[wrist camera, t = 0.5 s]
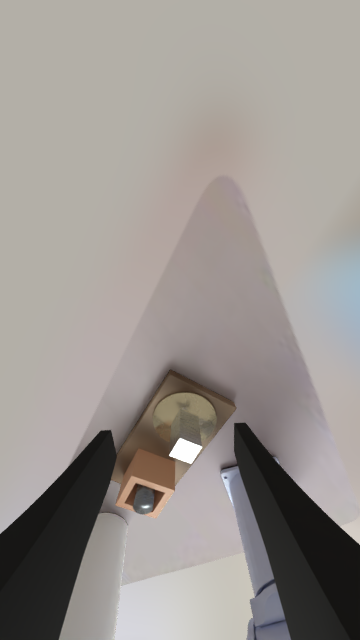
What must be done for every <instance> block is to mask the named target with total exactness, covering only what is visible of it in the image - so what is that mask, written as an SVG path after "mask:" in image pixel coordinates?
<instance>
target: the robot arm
mask: <svg viewBox="0 0 360 640" xmlns="http://www.w3.org/2000/svg"><path fill="white" fill-rule="evenodd" d="M234 452H235V456H236V460H237V464H238V466H236V467H232V468H228V469H224V470H221V472H220V473H221V477H222V480H223V482H224V485H225V487H226V490H227V492H228V495H229V497H230V500H231V502H232V505H233V508H234V510H235V514H236V518H237V523H238V527H239V531H240V536H241V540H242V544H243V548H244V553H245V557H246V561H247V566H248V570H249V574H250V578H251V582H252V587H253V591H254V595H255V598H253V599H250V604H251V609H252V614H253V618H251V619H250V620H249V623H248V633H247V640H360V545H359V544H358V543H357V542H356V541H355V540H354V539H353V538H351V537H350V536H349V535H348V534H347V533H346V532H345V531H344V530H343V529H342V528H340V527H339V526H338V525H337V524H336V523H335V522H334V521H333V520H332V519H331V518H330V517H329V516H328V515H327V514H326V513H325V512H324V511H323V510H322V509H321V508H320V507H319V506H318V505H317V504H316V503H315V502H314V501H313V500H312V499H311V498H310V497H309V496H308V495H307V494H306V493H305V492H304V491H303V490H302V489H301V488H300V487H299V486H298V485H297V484H296V483H295V482H294V480H293V479H292V478H291V477H290V476H289V475H288V474H287V473H286V472H285V471H284V469H283V468H282V467H281V466H280V463H279V460H278V459H277V458H276V457H272V456H271V454H270V453H269V452H268V451H267V450H266V448H265V447H264V446H263V445H262V443H261V442H260V441H259V440H258V438H257V437H256V436H255V434H254V433H253V432H252V431H251V429H250V428H249V426H248V425H247V424H246V423H234ZM116 459H117V456H116V451H115V446H114V442H113V437H112V432H111V430H105V431H100V432H99V433H98V434H97V436H96V437H95V438H94V439H93V440H92V441H91V442H90V443H89V445H88V446H87V447H86V448H85V449H84V450H83V451H82V452H81V454H80V455H79V456H78V457H77V458H76V459H75V460H74V461H73V462H72V464H71V465H70V466H69V467H68V468H67V469H66V470H65V471H64V472H63V473H62V475H61V476H60V477H59V478H58V479H57V480H56V481H55V482H54V483H53V484H52V485H51V486H50V487H49V488H48V489H47V490H46V491H45V492H44V493H43V494H42V495H41V496H40V497H39V498H38V499H37V500H36V501H35V502H34V503H33V504H32V505H31V506H30V507H29V508H28V509H27V510H26V511H25V512H24V513H23V514H22V515H21V516H20V517H18V518H17V519H16V520H15V521H14V522H13V523H12V524H11V525H10V526H9V527H8V528H7V529H6V530H4V531H3V532H2V533H1V534H0V640H59V637H60V634H61V630H62V627H63V623H64V620H65V616H66V613H67V609H68V606H69V602H70V599H71V595H72V592H73V589H74V585H75V582H76V579H77V575H78V572H79V569H80V565H81V562H82V559H83V556H84V553H85V550H86V547H87V544H88V541H89V538H90V536H91V533H92V530H93V527H94V525H95V522H96V519H97V517H98V514H99V511H100V508H101V506H102V503H103V500H104V498H105V495H106V492H107V489H108V487H109V484H110V481H111V477H112V474H113V470H114V466H115V462H116Z"/></svg>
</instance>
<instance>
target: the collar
mask: <svg viewBox="0 0 360 640" xmlns="http://www.w3.org/2000/svg"><path fill="white" fill-rule="evenodd" d="M138 484H141V485H144V486H147V487H149V488H152V489H155V495H154V504H153V510H152V511H151V512H150V513H148V514H143V515H147V516H150V517H153V518H157V517H158V515H159V514H160V512H161V511H162V509H163V508H164V506H165V505H166V503H167V502H168V500H169V499H170V497H171V495H172V494H173V492H174V491H175V462H174V461H172V460H169V459H166V458H164V457H161V456H158V455H155V454H153V453H150V452H147V451H145V450H142V449H139V448H138V450H137V452H136V454H135V456H134V458H133V459H132V461H131V463H130V465H129V467H128V469H127V471H126V472H125V474H124V477H123V480H122V484H121V487H120V491H119V494H118V498H117V501H116V506H119V507H122V508H125V509H128V510H131V511H134V509H133V504H134V499H135V494H136V489H137V485H138ZM134 512H135V511H134Z"/></svg>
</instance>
